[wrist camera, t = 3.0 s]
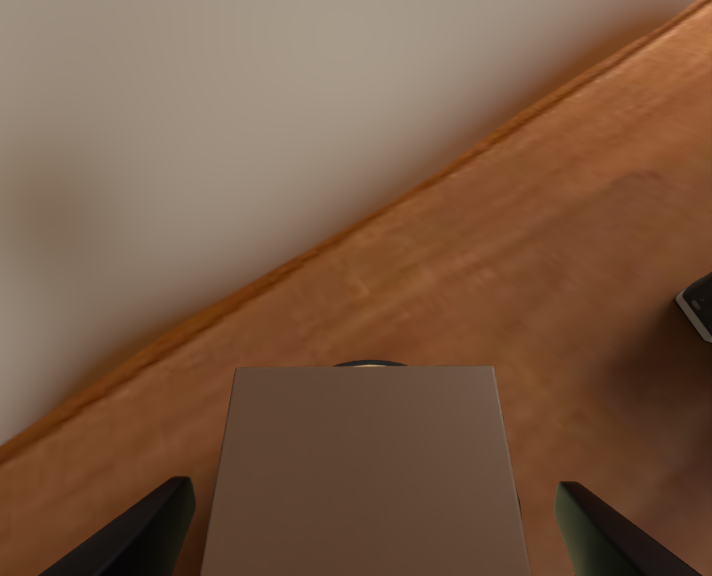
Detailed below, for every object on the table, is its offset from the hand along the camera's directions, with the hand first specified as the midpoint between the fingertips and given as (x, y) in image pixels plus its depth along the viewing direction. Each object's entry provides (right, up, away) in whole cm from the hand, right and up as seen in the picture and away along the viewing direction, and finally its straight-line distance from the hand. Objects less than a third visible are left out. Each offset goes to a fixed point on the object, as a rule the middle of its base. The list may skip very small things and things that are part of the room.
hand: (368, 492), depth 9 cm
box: (0, -4, +6) cm, 7 cm away
